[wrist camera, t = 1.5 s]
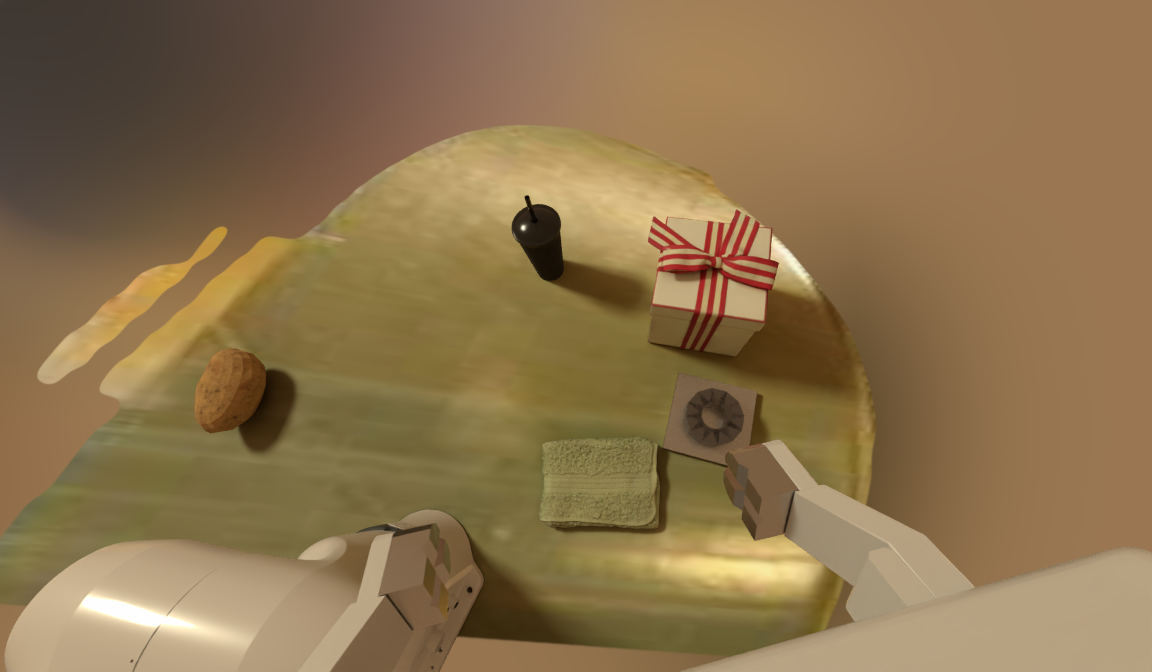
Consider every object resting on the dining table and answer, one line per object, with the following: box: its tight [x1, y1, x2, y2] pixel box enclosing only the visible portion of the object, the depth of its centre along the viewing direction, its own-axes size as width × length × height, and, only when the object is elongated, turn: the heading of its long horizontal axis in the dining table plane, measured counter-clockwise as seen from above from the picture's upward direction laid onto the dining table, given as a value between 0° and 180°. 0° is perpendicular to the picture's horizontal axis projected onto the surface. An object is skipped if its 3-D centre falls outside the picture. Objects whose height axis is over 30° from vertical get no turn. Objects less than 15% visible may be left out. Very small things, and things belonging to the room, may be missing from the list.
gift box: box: [648, 210, 779, 356], centre depth 63 cm, size 17×18×17 cm
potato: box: [195, 349, 266, 433], centre depth 70 cm, size 10×14×8 cm
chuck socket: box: [663, 373, 757, 466], centre depth 62 cm, size 12×12×4 cm
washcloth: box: [539, 436, 660, 529], centre depth 61 cm, size 13×18×3 cm
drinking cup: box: [512, 195, 563, 281], centre depth 67 cm, size 8×8×20 cm
